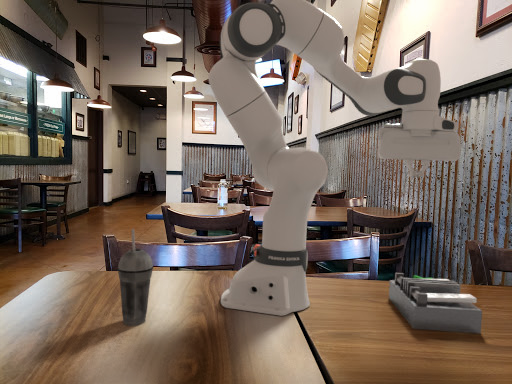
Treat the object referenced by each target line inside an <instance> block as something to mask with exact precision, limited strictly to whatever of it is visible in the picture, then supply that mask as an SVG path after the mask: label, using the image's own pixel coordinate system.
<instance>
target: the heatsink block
mask: <svg viewBox="0 0 512 384" xmlns="http://www.w3.org/2000/svg"><path fill="white" fill-rule="evenodd" d="M399 276H402V277H403V278H400V284H399V283H398V282H397V277H399ZM448 280H449V279H448ZM448 280H431V279H415V278H413V277H412V278H410V277H405V273H403V272H395V275H394V279H392V280H391V279H389V286H388V287H389V289H388V299H389V301H391V303H392V304H393V306H394V307H395V308H396V309H397V311H398V312H399V313H400V314H401V315H402V317H403V318H404V319H405V320H406V321H407V323H408V324H409V325H410V327H412V329H414V330H427V331H440V332H451V333H452V332H453V333H465V334H466V333H468V334H481V332H482V319H483V318H482V317H483V310H482V309H480V308H479V307H477V306H476V305H475V304H474V303H459V302H427V297H428V294H426V293H444V294H461V284H458V282H456V281H455V280H450V281H448ZM415 290H417V291H419V292H420V293H417V295H416V299H415V298H414V297H413V296H412V292H413V291H415Z"/></svg>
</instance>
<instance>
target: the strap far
mask: <svg viewBox="0 0 512 384" xmlns="http://www.w3.org/2000/svg"><path fill="white" fill-rule="evenodd" d="M400 278H403V277H402V276H399V277H397V282H398V283H399V284H400ZM431 280H448V281H451V280H450V279H449V278H433V279H431Z"/></svg>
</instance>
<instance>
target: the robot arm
mask: <svg viewBox="0 0 512 384" xmlns="http://www.w3.org/2000/svg"><path fill="white" fill-rule="evenodd" d="M343 29H344V28H343V27H342V25H340V23H339V22H338V21H337V20H336V19H335V18H334V17H332V16H331V15H330V14H328V13H326V12H325V10H323V9H321V8H320V7H318V6H316V5H315V4H314V3H312V2H309V1H308V0H271V1H270V3H262V2H261V3H260V2H247V3H244V4H242V5H239V6H238V7H237V8H235V10H233V12H232V13H231V14H230V15H228V17H227V18H226V19H225V21H224V23H223V25H222V28H221V30H220V33H219V41H218V42H219V52H220V55H219V56H220V60H218V61H217V62H216V63H215V64H213V66H212V67H211V69H210V71H209V74H208V83H209V86H210V88H211V91H212V93H213V96H214V97H215V99H216V101H217V103H218V105H219V107H220V108H221V110H222V112H223V114H224V115H225V117H226V119H227V120H228V122H229V124H230V125H231V126H232V128H233V130H234V132H235V133H236V134H237V136H238V138H239V139H240V141H241V143H242V145H243V146H244V149H245V151H246V154H247V156H248V159H249V162H250V164H251V166H252V169H251V172H252V176H253V179H254V180H255V182H256V183H257V184H259V186H261V187H262V188H265V189H266V190H268V191H271V192H273V193H272V197H271V200H270V203H269V206H268V208H267V210H266V211H265V212H264V214H263V217H262V238H261V239H262V241H261V244H259V243H258V244H257V243H256V244H255V245H254V246H253V248H252V249H253V260H252V261H251V262H249V263H247V264H245V266H244V267H242V268H240V269H239V270H238V271H237V272H235V273H234V275H233V278H232V279H231V282H230V287H229V288H227V289H225V290H224V291H223V293H222V294H221V297H220V304H221V306H223V308H226V309H233V310H238V311H247V312H251V313H252V312H254V313H261V314H266V315H272V316H273V315H274V316H281V317H282V316H286V315H288V314H291V313H294V312H300V311H303V310H306V309H307V308H308V307H310V304H311V303H310V299H309V295H308V294H309V293H308V287H307V277H306V276H307V275H306V272H307V268H308V260H309V258H308V256H309V255H308V254H309V253H308V248H307V233H308V232H307V231H308V230H307V229H308V220H309V214H310V210H311V208H312V204H313V201H314V199H315V196H316V194H317V193H318V192H319V190H320V189H321V188H322V187H323V186H324V185H325V183H326V181H327V177H328V174H329V172H328V171H329V168H328V163H327V160H326V159H325V157H324V155H322V154H321V153H320V152H318V151H316V150H313V149H311V148H306V147H300V146H299V147H289V146H288V144H287V143H286V141H285V137H284V134H283V130H282V126H283V119H282V116H281V114H280V113H279V111H278V110H277V108H276V106H275V104H274V102H273V100H272V99H271V97H270V96H269V94H268V93H267V91H266V89H265V87H264V86H263V84H262V83H261V81H260V80H259V76H258V75H257V71H256V62H257V61H258V60H259V59H261V58H263V57H264V56H265V55H266V54H268V53H269V52H270V51H271V50H272V49H273V48H274V47H276V45H277V46H281V47H283V48H285V49H287V50H289V51H290V52H291V53H293V54H294V55H296V56H297V57H299V58H300V59H302V60H303V61H304V62H305V63H308V64H309V65H310V66H311V67H312V68H313V69H314V70H315V71H316V73H318V74H319V75H320V76H321V77H322V78H323V79H324V80H326V81H327V82H328V83H330V84H331V85H332V86H333V87H334V88H336V89H337V90H338V91H340V92H341V93H342V94H344V95H345V96H346V97H347V98H348V99H349V100H350V102H352V104H353V106H354V107H355V108H356V110H358V112H359V113H361V114H362V115H365V116H366V117H367V116H368V117H374V116H377V115H379V114H382V113H385V112H388V111H393V110H396V109H402V113H401V123H392V124H391V123H384V124H383V125H381V126H380V127H379V128H378V131H377V132H378V135H377V137H378V139H379V142H378V145H377V146H378V147H377V156H378V158H379V159H380V160H405V161H404V162H405V163H404V164H405V166H406V168H407V169H408V177H409V178H423V179H424V178H425V171H426V170H427V168H428V167H429V166H430V161H439V162H440V161H443V162H456V161H458V160H459V159H460V158H461V153H462V152H461V149H462V148H461V147H462V146H461V143H462V142H461V136H460V134H459V133H458V132H457V131H458V130H459V125H460V124H459V123H458V122H457V121H454V120H452V119H448V118H445V117H442V116H440V109H439V105H438V104H439V99H440V96H441V83H442V82H441V80H442V79H441V72H440V67H439V64H438V63H437V62H436V61H433V60H432V59H428V58H417V59H412V60H411V61H409V62H408V63H407V64H405V65H403V66H401V67H397V68H393V69H389V70H387V71H385V72H382V73H381V74H377V75H376V76H372V77H371V76H370V77H365V76H362V75H360V74H359V73H358V72H357V71H355V70H354V69H353V67H351V66H349V64H347V62H345V61H344V60H343V59H342V56H341V55H342V52H343V48H344V45H345V34H344V30H343ZM414 160H415V161H419V160H420V162H421V163H420V164H421V165H422V166H421V168H420V169H419V170H415V169H414V167H413V165H412V164H414Z"/></svg>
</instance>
